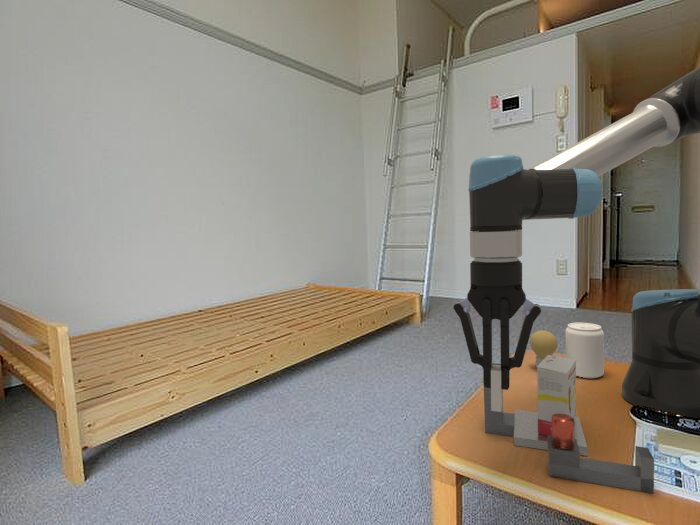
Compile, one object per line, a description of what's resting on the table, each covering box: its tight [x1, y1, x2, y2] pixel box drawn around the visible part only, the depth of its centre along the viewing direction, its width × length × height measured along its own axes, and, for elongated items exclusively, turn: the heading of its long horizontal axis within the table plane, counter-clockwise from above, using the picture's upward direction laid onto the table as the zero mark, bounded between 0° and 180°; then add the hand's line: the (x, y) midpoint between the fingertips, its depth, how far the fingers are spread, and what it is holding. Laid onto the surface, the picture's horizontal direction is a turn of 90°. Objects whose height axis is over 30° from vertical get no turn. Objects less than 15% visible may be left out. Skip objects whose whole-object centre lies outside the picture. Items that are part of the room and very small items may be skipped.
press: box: [483, 362, 588, 457], centre depth 74 cm, size 16×11×12 cm
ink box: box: [536, 354, 577, 436], centre depth 72 cm, size 9×5×12 cm, turn 142°
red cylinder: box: [547, 414, 581, 469], centre depth 62 cm, size 4×4×6 cm
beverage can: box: [565, 322, 605, 379], centre depth 100 cm, size 8×8×12 cm
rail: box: [547, 445, 655, 494], centre depth 60 cm, size 13×3×5 cm, turn 67°
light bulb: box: [529, 330, 558, 369], centre depth 104 cm, size 6×6×10 cm
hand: (496, 407), depth 65 cm, fingers closed
